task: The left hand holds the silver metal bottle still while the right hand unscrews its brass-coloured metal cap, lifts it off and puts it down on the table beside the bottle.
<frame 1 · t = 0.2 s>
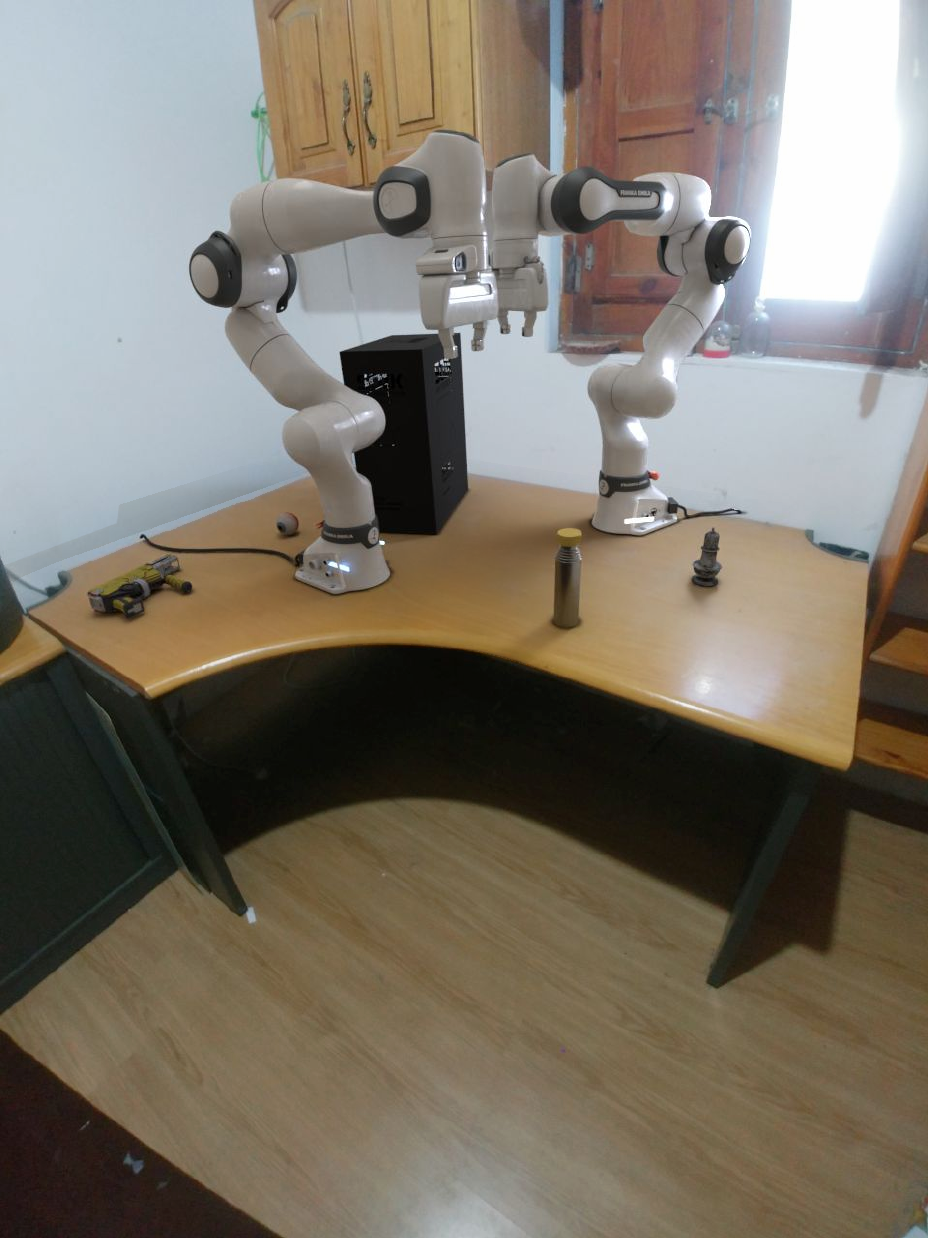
left hand: (464, 354, 102), 48 cm above the table, tool pointing down, fingers open, 8 cm apart
right hand: (516, 335, 125), 48 cm above the table, tool pointing down, fingers open, 8 cm apart
cap: (569, 533, 108), point 18 cm above the table, screwed on, not yet turned
bottle: (565, 621, 117), on the table
toy gun: (157, 594, 137), on the table
black box: (420, 509, 177), on the table
eyeball: (289, 534, 165), on the table
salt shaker: (704, 580, 129), on the table
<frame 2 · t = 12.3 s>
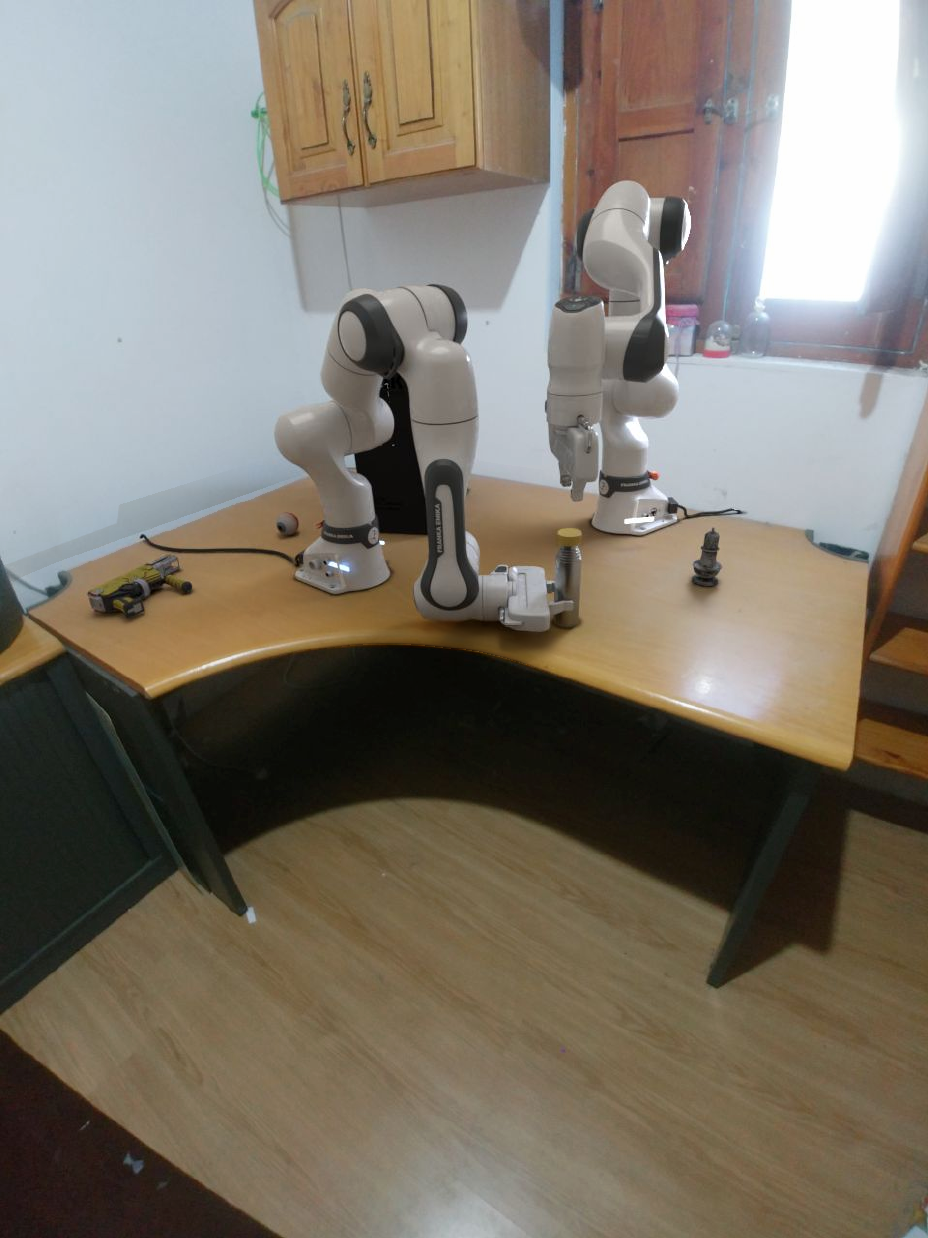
left hand: (571, 596, 115), 5 cm above the table, tool horizontal, fingers closed on bottle, 5 cm apart
right hand: (570, 492, 104), 26 cm above the table, tool pointing down, fingers open, 7 cm apart
bottle: (565, 621, 117), on the table, touching left hand
everything else where it was.
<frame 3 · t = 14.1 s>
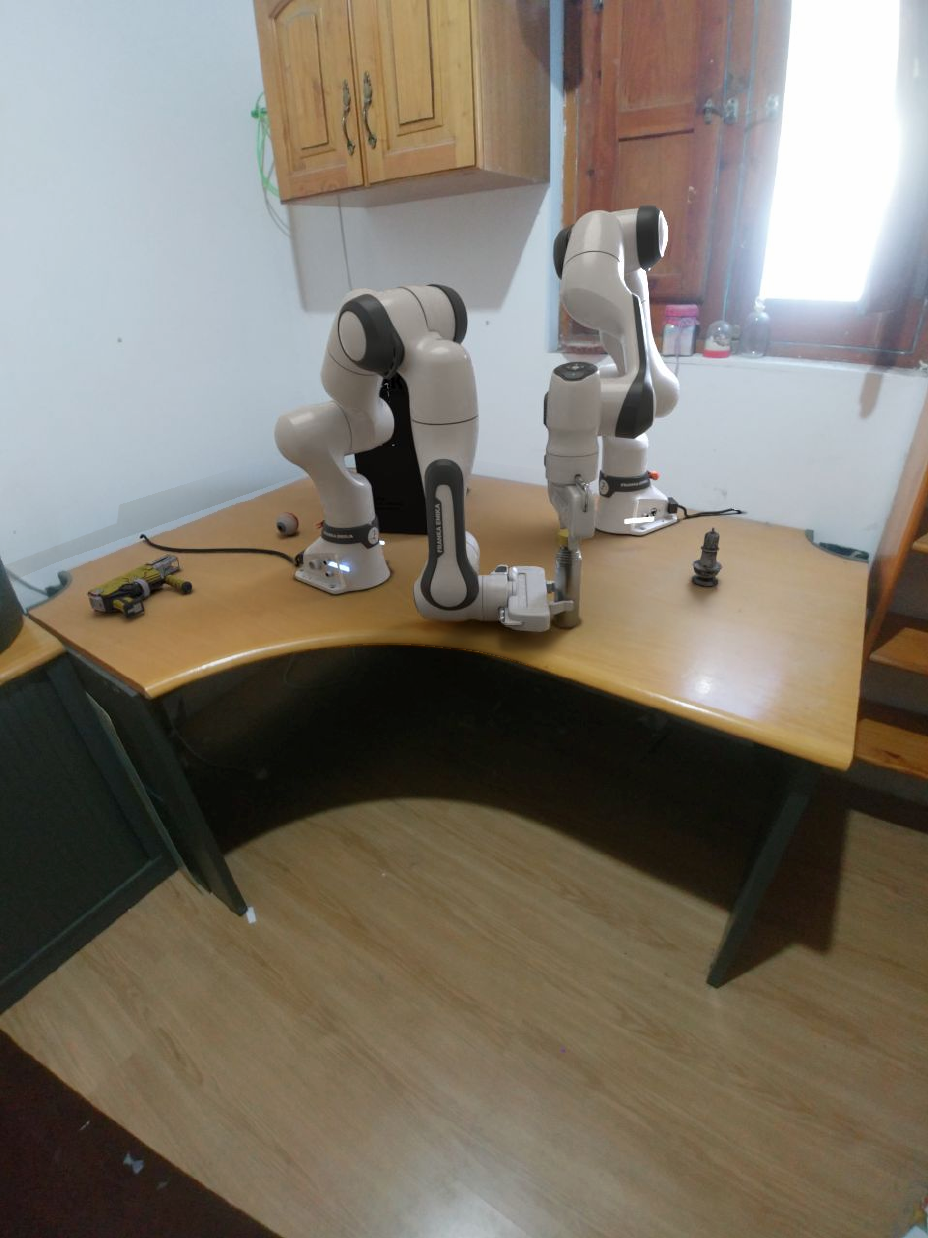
left hand: (571, 596, 115), 5 cm above the table, tool horizontal, fingers closed on bottle, 5 cm apart
right hand: (568, 542, 109), 17 cm above the table, tool pointing down, fingers closed on cap, 4 cm apart
cap: (569, 533, 108), point 18 cm above the table, screwed on, not yet turned, touching right hand
bottle: (565, 621, 117), on the table, touching left hand
everything else where it was.
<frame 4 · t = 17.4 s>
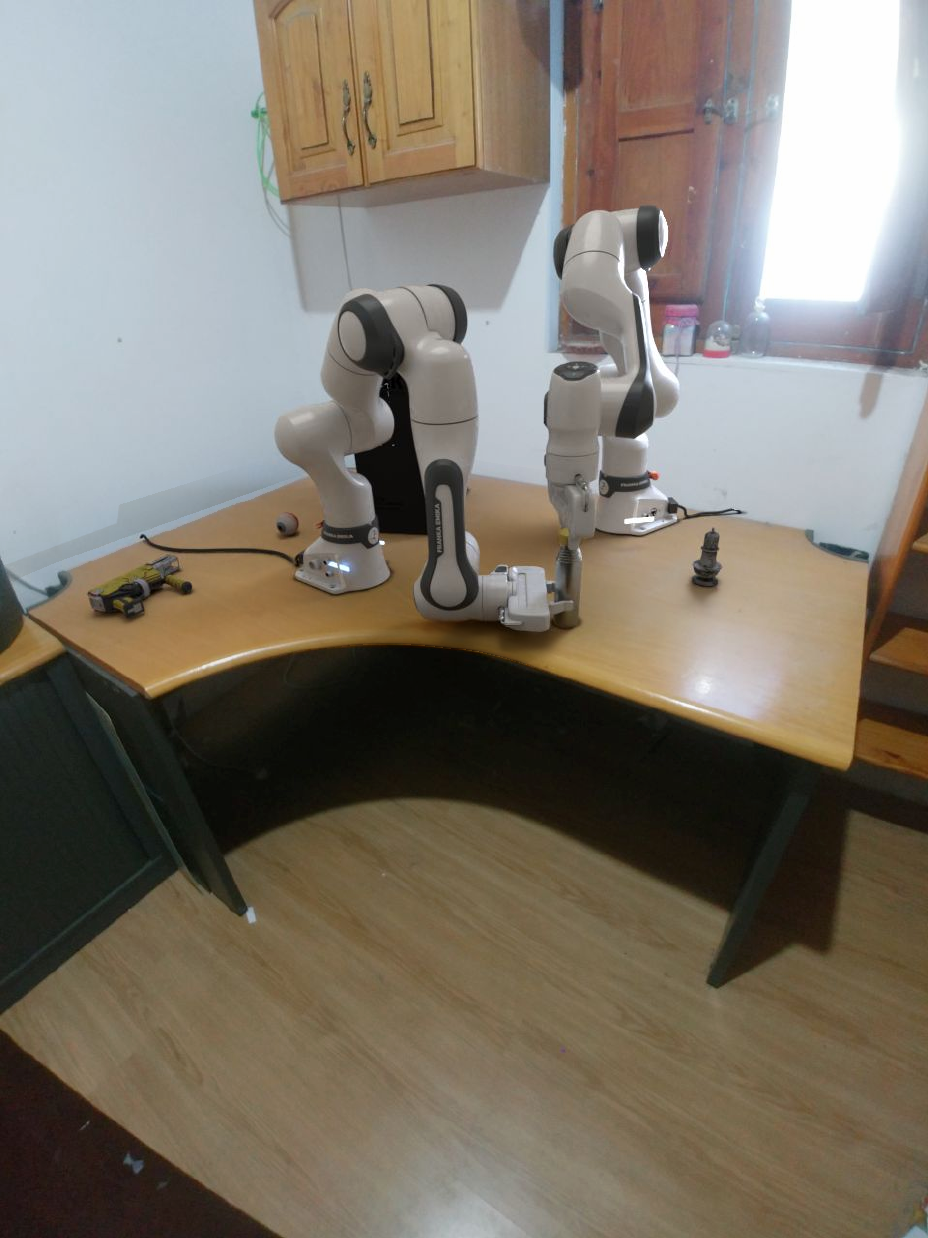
left hand: (571, 596, 115), 5 cm above the table, tool horizontal, fingers closed on bottle, 5 cm apart
right hand: (569, 542, 109), 17 cm above the table, tool pointing down, fingers closed on cap, 4 cm apart
cap: (570, 533, 108), point 18 cm above the table, turned 82° so far, risen 0.1 cm, still on its thread, touching right hand
bottle: (565, 621, 117), on the table, touching left hand
everything else where it was.
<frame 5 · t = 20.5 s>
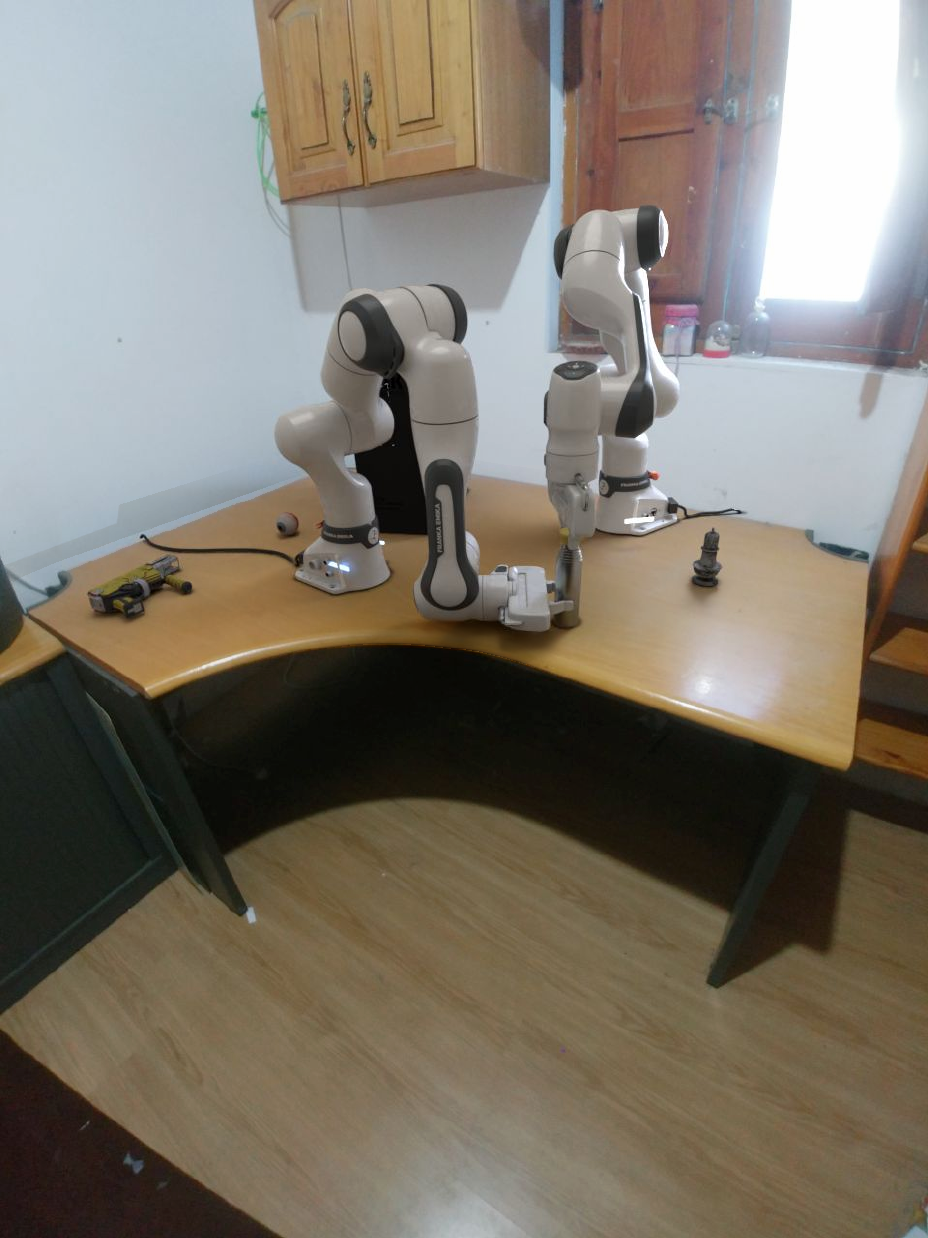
left hand: (571, 596, 115), 5 cm above the table, tool horizontal, fingers closed on bottle, 5 cm apart
right hand: (568, 542, 109), 17 cm above the table, tool pointing down, fingers closed on cap, 4 cm apart
cap: (570, 532, 108), point 18 cm above the table, turned 164° so far, risen 0.2 cm, still on its thread, touching right hand
bottle: (565, 621, 117), on the table, touching left hand
everything else where it was.
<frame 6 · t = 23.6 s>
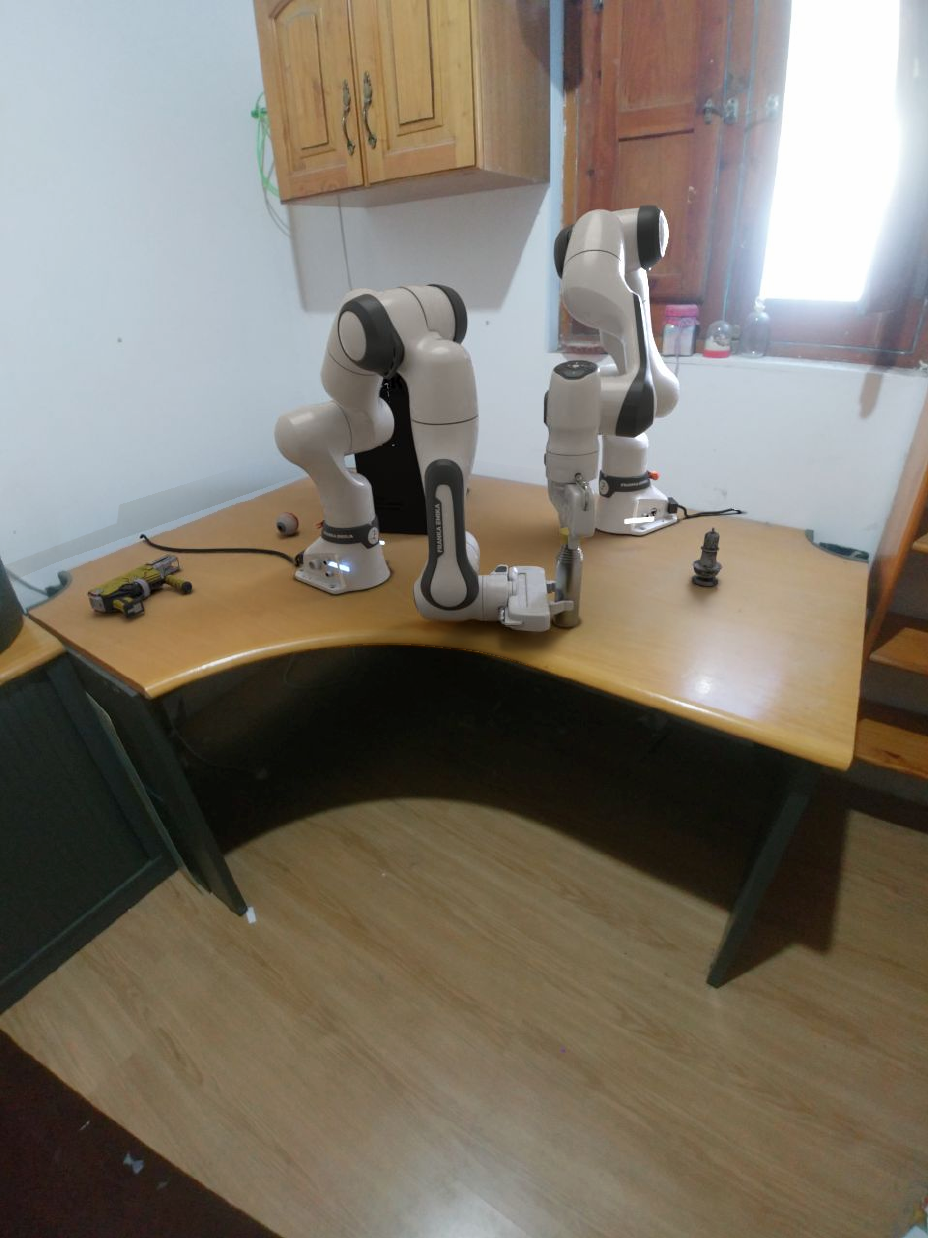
left hand: (571, 596, 115), 5 cm above the table, tool horizontal, fingers closed on bottle, 5 cm apart
right hand: (568, 541, 109), 17 cm above the table, tool pointing down, fingers closed on cap, 4 cm apart
cap: (571, 532, 108), point 19 cm above the table, turned 245° so far, risen 0.3 cm, still on its thread, touching right hand
bottle: (565, 621, 117), on the table, touching left hand
everything else where it was.
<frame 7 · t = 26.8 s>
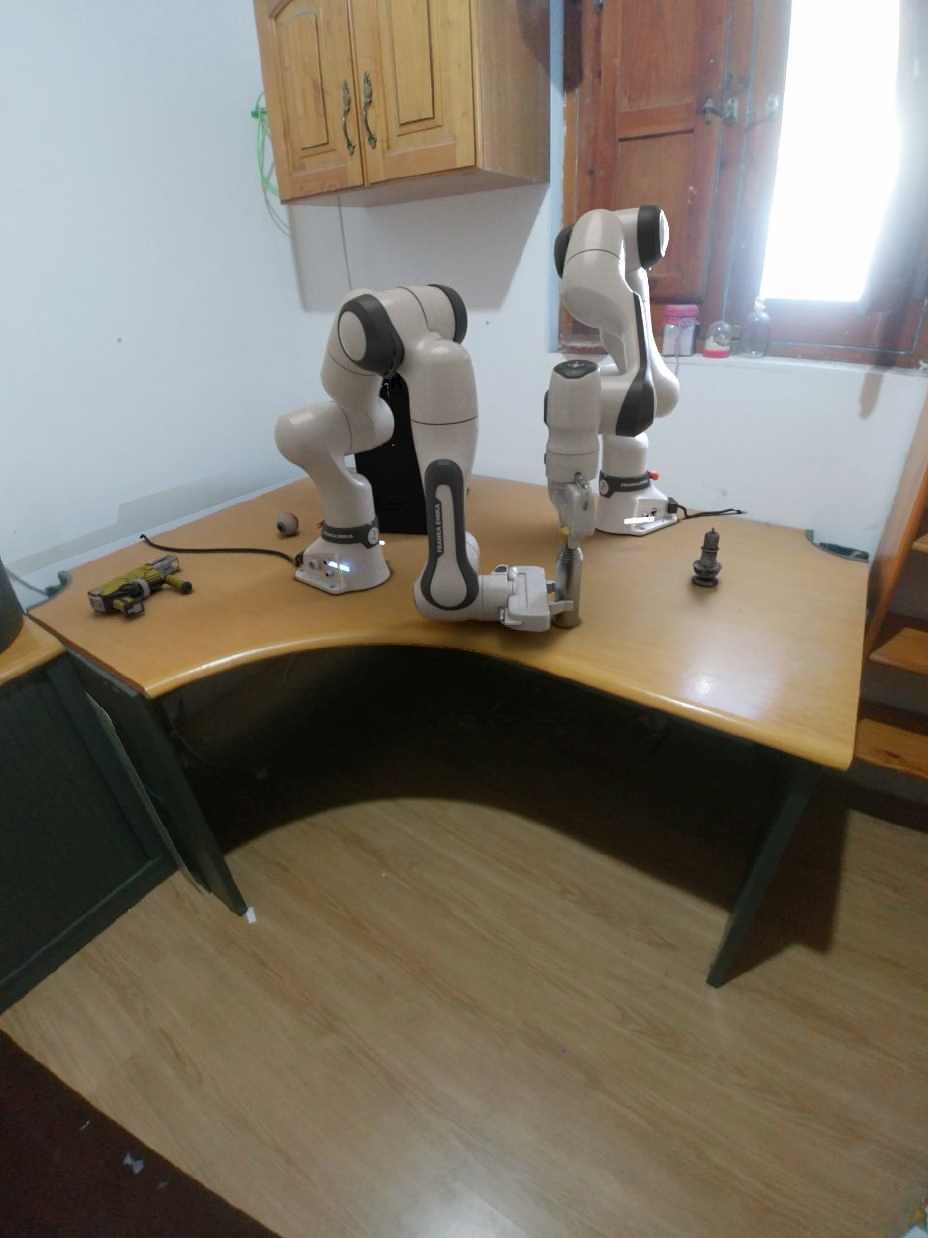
left hand: (571, 596, 115), 5 cm above the table, tool horizontal, fingers closed on bottle, 5 cm apart
right hand: (569, 541, 109), 17 cm above the table, tool pointing down, fingers closed on cap, 4 cm apart
cap: (571, 531, 108), point 19 cm above the table, turned 327° so far, risen 0.3 cm, still on its thread, touching right hand
bottle: (565, 621, 117), on the table, touching left hand
everything else where it was.
when the right hand's fingers open (2 cm above the table, at t = 35.9 s): cap drops 2 cm, point 2 cm above the table.
when the left hand's fingers open (5 cm above the table, at t = 37.1 s): bottle stays where it is, on the table.
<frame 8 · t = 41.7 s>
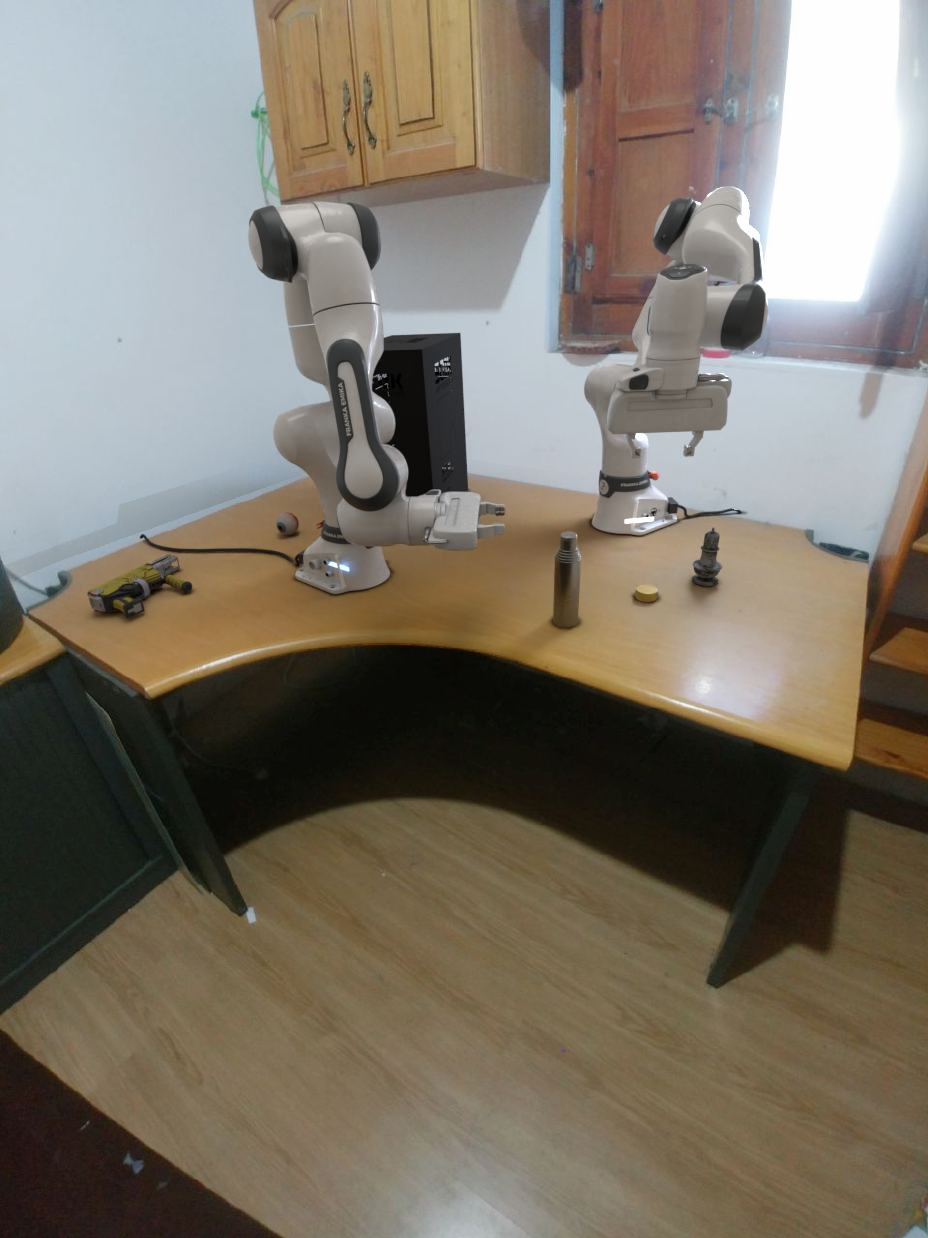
left hand: (504, 518, 108), 21 cm above the table, tool horizontal, fingers open, 8 cm apart
right hand: (661, 456, 109), 29 cm above the table, tool pointing down, fingers open, 8 cm apart
cap: (646, 590, 123), point 2 cm above the table, off its thread
bottle: (565, 621, 117), on the table
everything else where it was.
at the end: cap came off its thread; cap point 1.6 cm above the table; the left hand is holding nothing; the right hand is holding nothing; bottle tilted 0°; bottle moved 0.1 cm from its start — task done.
